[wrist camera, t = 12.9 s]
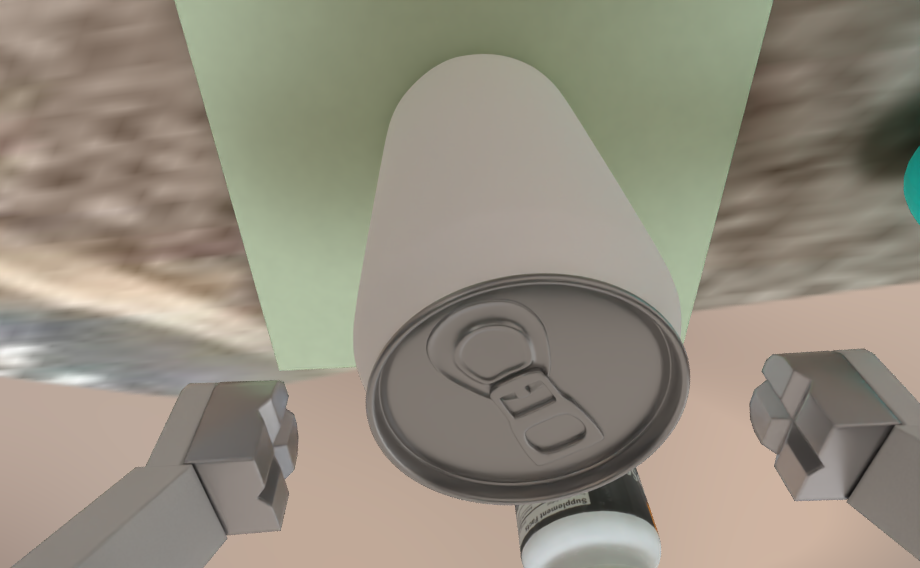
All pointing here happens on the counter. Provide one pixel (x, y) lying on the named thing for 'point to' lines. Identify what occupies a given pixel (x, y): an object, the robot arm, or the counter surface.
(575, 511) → the pill bottle
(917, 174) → the donuts
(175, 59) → the counter surface
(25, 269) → the counter surface
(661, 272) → the can
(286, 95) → the mat
